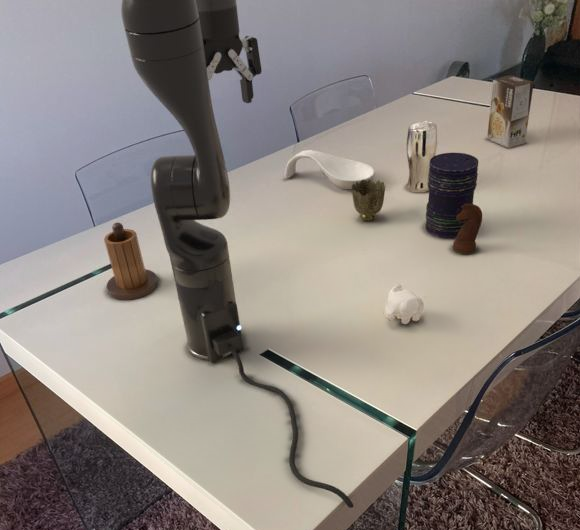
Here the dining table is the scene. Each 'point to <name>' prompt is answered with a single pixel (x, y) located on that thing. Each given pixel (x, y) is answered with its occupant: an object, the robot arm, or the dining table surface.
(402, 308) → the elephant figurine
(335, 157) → the spoon rest
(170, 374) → the dining table surface
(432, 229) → the storage jar
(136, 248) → the wooden stave pot
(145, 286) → the peg stand
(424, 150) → the beer glass
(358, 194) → the cup
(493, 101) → the coffee box
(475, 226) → the chess piece
